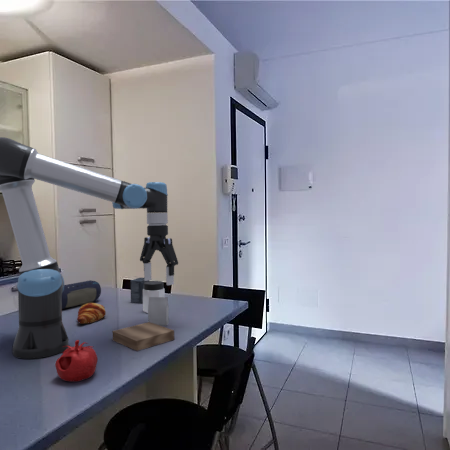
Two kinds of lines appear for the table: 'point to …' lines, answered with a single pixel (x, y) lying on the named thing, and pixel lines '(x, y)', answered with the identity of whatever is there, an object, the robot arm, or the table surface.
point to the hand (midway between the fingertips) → (158, 282)
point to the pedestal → (143, 335)
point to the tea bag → (158, 311)
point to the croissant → (90, 313)
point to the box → (137, 290)
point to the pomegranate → (76, 363)
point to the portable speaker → (80, 293)
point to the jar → (152, 292)
